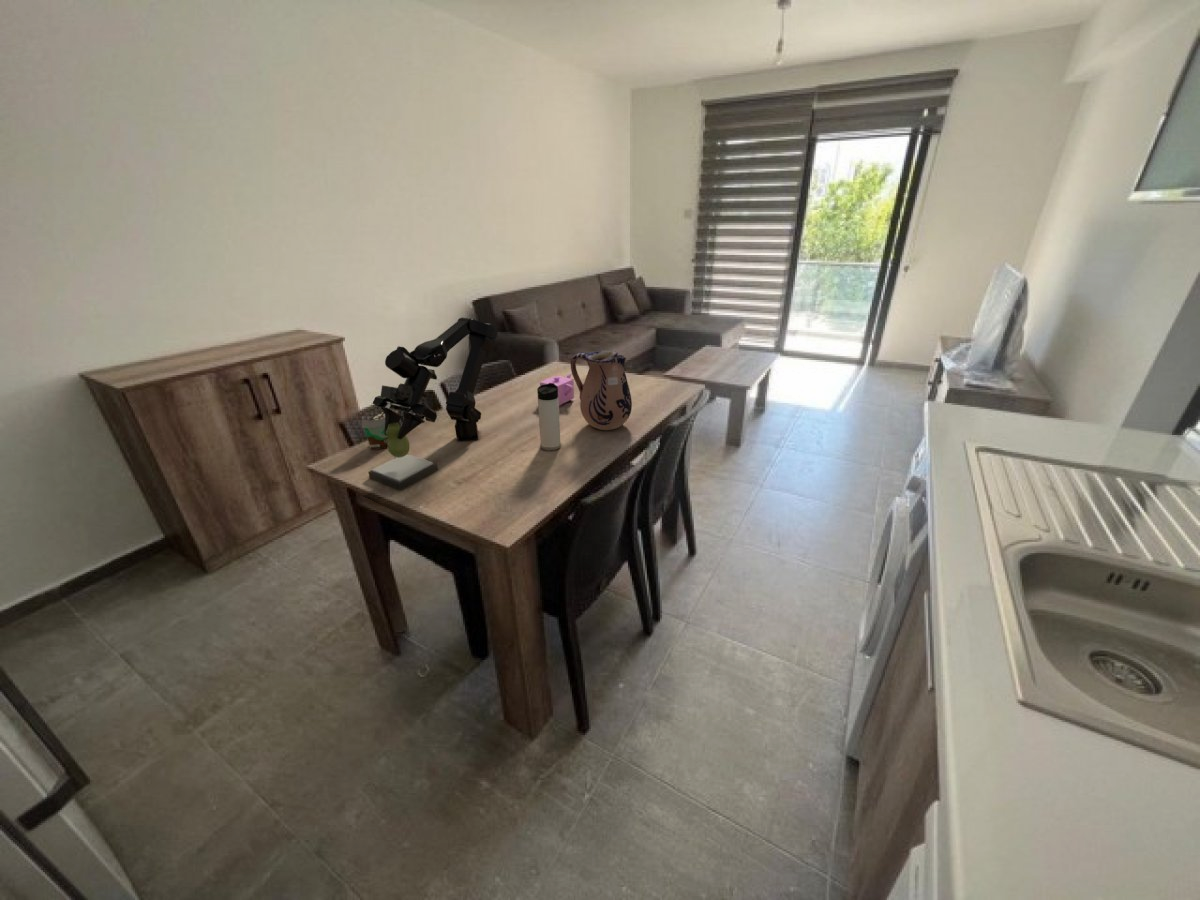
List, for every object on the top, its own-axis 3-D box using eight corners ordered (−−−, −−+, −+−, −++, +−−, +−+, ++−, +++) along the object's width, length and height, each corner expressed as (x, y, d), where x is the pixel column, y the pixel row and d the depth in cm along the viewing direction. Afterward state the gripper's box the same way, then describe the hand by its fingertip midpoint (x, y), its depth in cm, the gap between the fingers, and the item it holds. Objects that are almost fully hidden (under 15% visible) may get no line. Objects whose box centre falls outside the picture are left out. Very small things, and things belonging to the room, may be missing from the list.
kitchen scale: (407, 459, 144) (405, 451, 143) (437, 469, 138) (436, 461, 137) (369, 478, 134) (367, 470, 133) (400, 490, 128) (398, 481, 127)
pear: (412, 450, 137) (405, 418, 132) (410, 459, 132) (403, 426, 128) (391, 453, 136) (383, 421, 131) (389, 462, 131) (380, 428, 127)
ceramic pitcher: (628, 437, 157) (629, 363, 146) (565, 433, 161) (562, 360, 149) (633, 417, 173) (635, 348, 161) (577, 413, 176) (575, 346, 165)
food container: (385, 452, 148) (378, 423, 144) (368, 451, 149) (360, 421, 145) (407, 436, 159) (402, 408, 154) (391, 434, 160) (384, 407, 156)
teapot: (559, 391, 198) (558, 367, 193) (587, 397, 191) (587, 373, 186) (531, 405, 184) (529, 379, 179) (560, 412, 177) (559, 386, 173)
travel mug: (564, 443, 154) (561, 383, 145) (555, 452, 148) (552, 390, 139) (546, 440, 156) (542, 381, 147) (537, 449, 150) (533, 388, 141)
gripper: (370, 367, 130) (345, 419, 126) (421, 377, 123) (396, 432, 119) (398, 386, 140) (376, 434, 136) (447, 395, 133) (425, 447, 129)
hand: (392, 437), depth 130 cm, fingers closed on pear, 4 cm apart
